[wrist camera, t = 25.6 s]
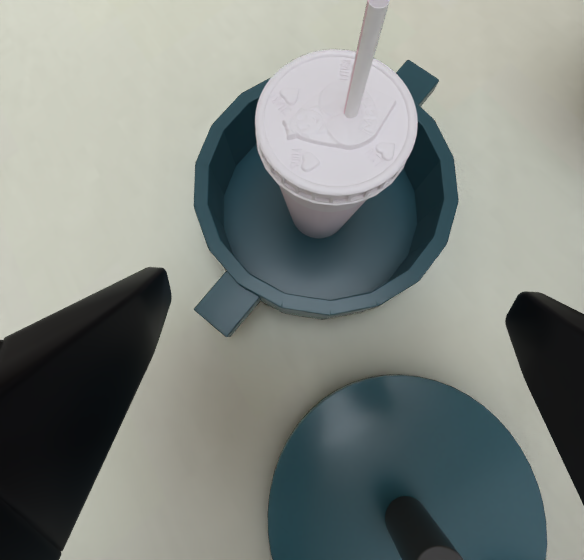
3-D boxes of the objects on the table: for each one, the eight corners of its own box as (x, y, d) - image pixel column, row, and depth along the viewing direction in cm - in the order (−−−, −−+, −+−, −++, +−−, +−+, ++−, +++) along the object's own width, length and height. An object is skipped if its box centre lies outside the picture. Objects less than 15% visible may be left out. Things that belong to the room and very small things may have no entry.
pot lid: (583, 488, 19) (697, 549, 14) (433, 734, 17) (496, 918, 12) (372, 322, 21) (400, 318, 16) (215, 529, 19) (183, 606, 14)
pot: (488, 168, 23) (534, 128, 19) (312, 399, 20) (316, 416, 16) (325, 56, 25) (331, -5, 20) (143, 257, 22) (105, 237, 18)
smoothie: (378, 244, 22) (524, 82, 8) (284, 269, 21) (264, 147, 8) (350, 158, 23) (436, -119, 9) (260, 181, 22) (206, -66, 9)
